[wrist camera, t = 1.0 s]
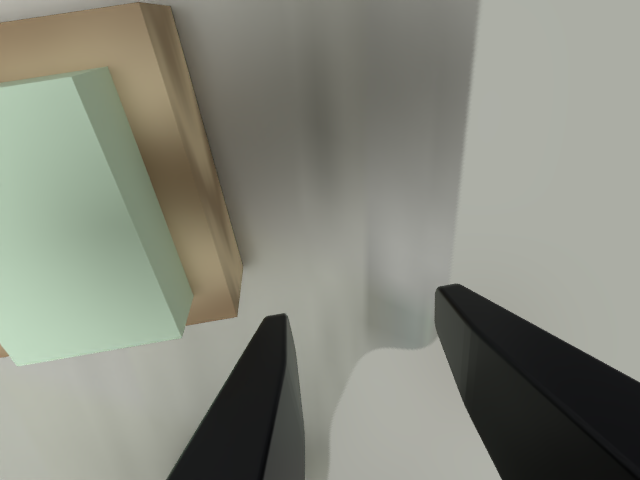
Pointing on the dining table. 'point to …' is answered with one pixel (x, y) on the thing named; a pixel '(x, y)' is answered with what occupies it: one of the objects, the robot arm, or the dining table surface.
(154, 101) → the deck
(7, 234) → the sage green tile
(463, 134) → the dining table surface
